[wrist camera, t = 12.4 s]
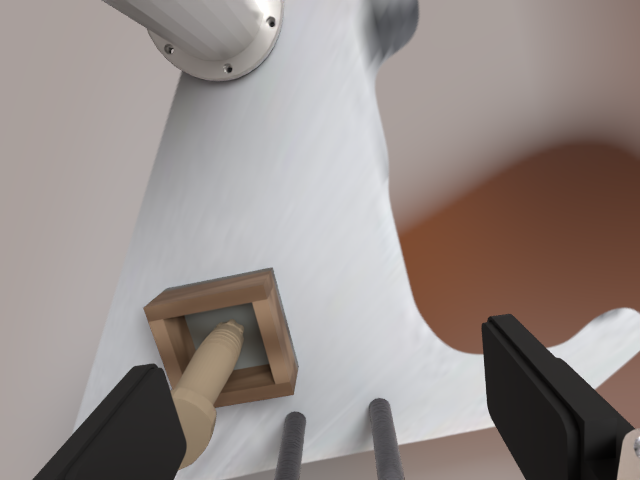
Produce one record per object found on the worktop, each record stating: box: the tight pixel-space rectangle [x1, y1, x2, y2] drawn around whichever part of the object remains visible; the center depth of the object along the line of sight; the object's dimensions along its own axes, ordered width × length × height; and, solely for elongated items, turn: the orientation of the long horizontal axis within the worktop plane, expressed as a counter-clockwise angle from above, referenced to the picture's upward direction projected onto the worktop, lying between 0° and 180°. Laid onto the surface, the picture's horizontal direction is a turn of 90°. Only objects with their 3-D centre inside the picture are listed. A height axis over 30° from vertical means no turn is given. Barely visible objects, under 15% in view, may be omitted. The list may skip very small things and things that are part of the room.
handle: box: [170, 319, 244, 470], centre depth 33 cm, size 5×6×15 cm
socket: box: [143, 267, 299, 408], centre depth 39 cm, size 12×12×5 cm
